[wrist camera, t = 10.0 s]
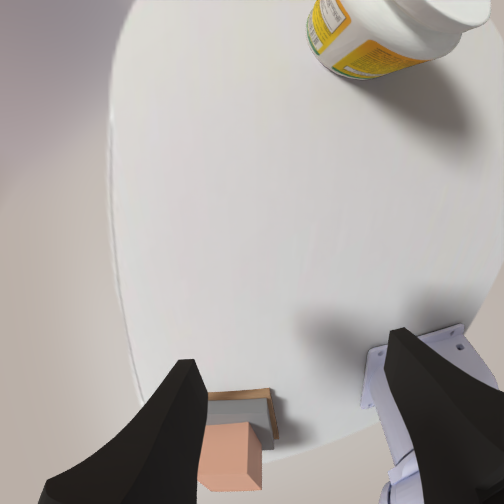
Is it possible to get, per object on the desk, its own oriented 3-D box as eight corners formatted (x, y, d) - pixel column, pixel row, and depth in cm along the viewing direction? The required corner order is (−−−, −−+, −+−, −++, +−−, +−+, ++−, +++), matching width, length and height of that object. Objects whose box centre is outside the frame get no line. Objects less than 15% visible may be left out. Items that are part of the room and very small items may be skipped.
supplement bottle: (284, 33, 12) (317, -68, 3) (344, -11, 11) (412, -98, 2) (354, 100, 14) (466, 77, 5) (408, 51, 12) (521, 15, 3)
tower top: (266, 397, 22) (266, 412, 20) (273, 437, 24) (274, 449, 23) (184, 400, 22) (181, 413, 21) (204, 439, 25) (202, 450, 23)
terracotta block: (248, 421, 21) (247, 473, 16) (261, 444, 22) (261, 489, 18) (197, 425, 21) (189, 474, 17) (216, 448, 23) (211, 491, 18)
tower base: (269, 380, 23) (269, 393, 21) (278, 427, 26) (279, 438, 24) (179, 385, 23) (176, 398, 22) (203, 431, 26) (201, 442, 25)
